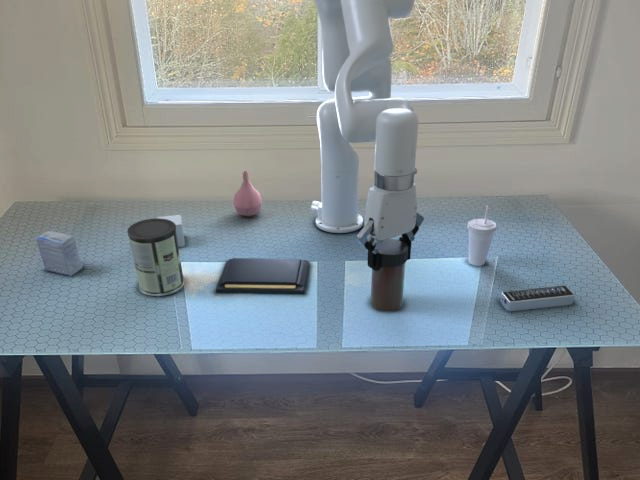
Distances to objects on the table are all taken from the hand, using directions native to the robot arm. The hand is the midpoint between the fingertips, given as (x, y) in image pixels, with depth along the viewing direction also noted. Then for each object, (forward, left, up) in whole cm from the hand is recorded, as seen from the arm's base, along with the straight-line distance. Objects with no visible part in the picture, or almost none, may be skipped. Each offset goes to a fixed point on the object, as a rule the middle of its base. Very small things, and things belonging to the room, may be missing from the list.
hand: (388, 262), depth 132 cm
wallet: (-29, -6, -10) cm, 31 cm away
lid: (0, 0, +3) cm, 3 cm away
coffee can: (-46, -22, -10) cm, 52 cm away
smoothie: (+8, +28, -10) cm, 31 cm away
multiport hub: (+26, +18, -10) cm, 33 cm away
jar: (0, 0, -10) cm, 10 cm away
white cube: (-60, -5, -10) cm, 61 cm away
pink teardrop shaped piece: (-55, +19, -10) cm, 59 cm away
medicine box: (-71, -30, -10) cm, 78 cm away
